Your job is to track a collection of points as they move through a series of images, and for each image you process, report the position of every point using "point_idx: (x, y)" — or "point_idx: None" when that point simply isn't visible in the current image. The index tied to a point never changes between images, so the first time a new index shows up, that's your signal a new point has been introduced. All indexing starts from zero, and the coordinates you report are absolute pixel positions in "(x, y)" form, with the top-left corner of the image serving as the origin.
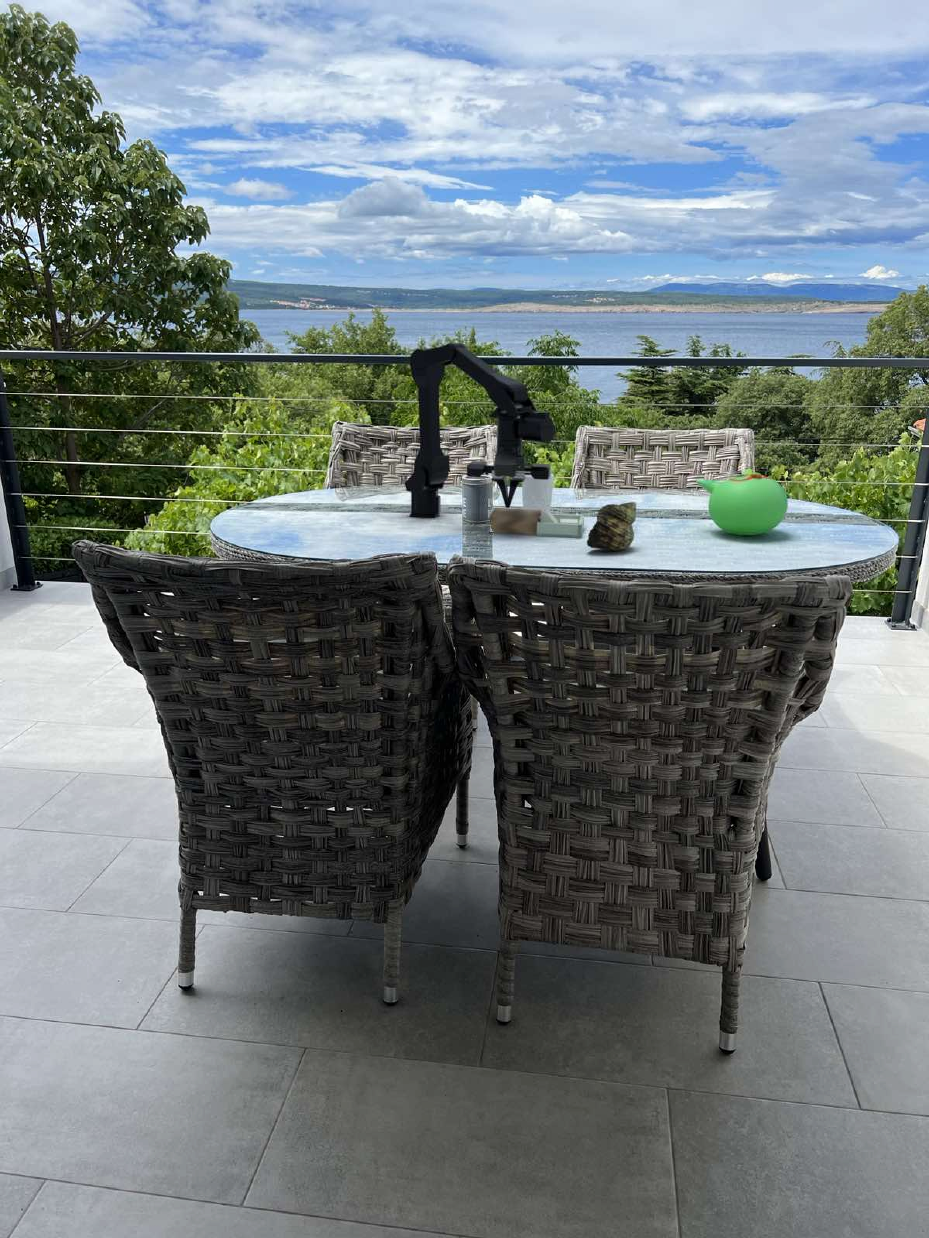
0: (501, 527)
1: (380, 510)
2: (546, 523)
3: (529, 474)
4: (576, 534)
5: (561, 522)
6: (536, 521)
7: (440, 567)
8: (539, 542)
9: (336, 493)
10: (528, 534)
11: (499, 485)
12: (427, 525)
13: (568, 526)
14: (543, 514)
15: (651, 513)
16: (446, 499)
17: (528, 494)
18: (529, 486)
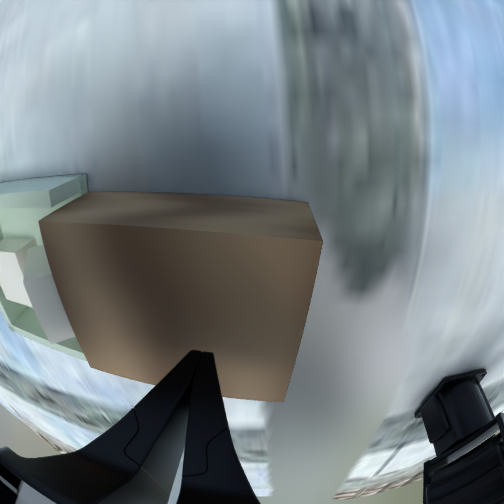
0: (240, 206)
1: (496, 391)
2: (22, 191)
3: (3, 486)
4: None
5: (12, 253)
6: (53, 213)
7: None
8: (69, 65)
9: None
10: (117, 192)
11: (242, 496)
12: (492, 299)
13: None
14: (35, 276)
15: (27, 391)
16: (363, 467)
17: (180, 467)
18: (173, 486)
